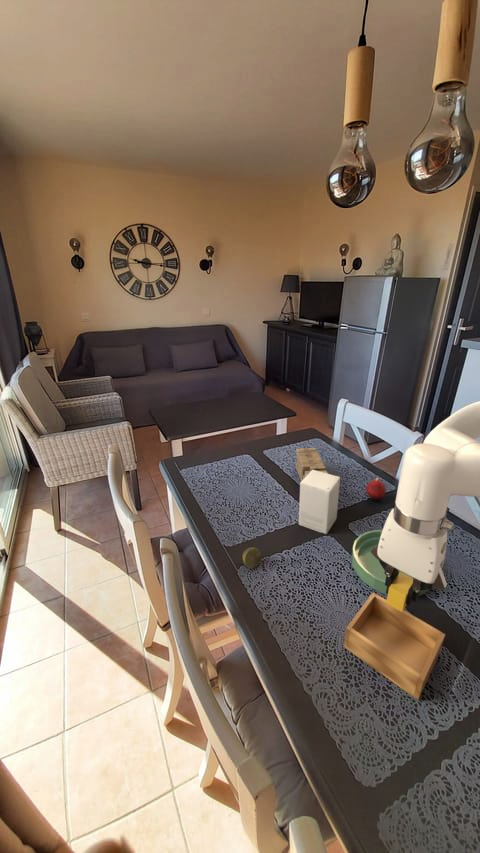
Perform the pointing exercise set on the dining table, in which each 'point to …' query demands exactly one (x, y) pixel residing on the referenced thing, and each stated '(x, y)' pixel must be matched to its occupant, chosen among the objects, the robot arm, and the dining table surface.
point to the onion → (375, 489)
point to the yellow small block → (399, 591)
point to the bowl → (370, 562)
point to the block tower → (308, 462)
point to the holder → (394, 644)
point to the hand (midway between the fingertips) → (400, 594)
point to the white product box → (318, 501)
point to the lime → (251, 557)
